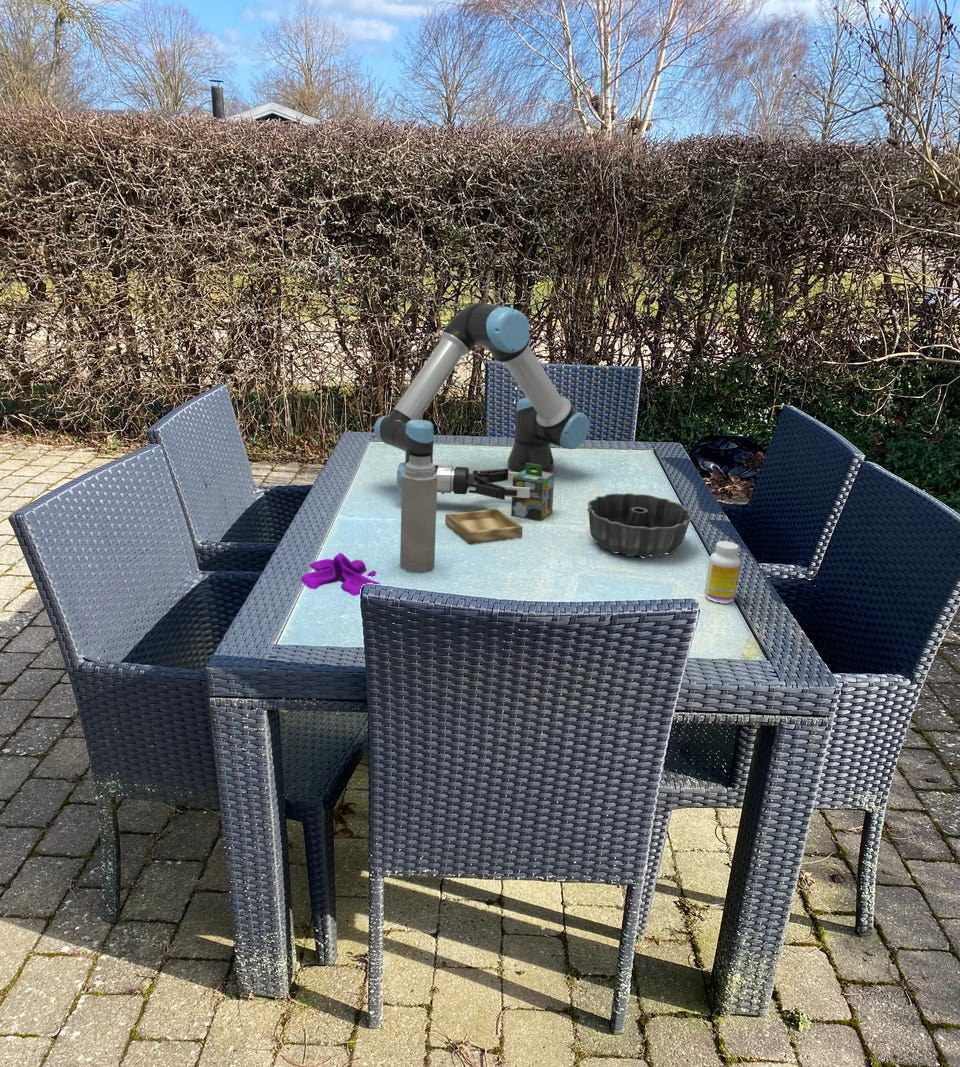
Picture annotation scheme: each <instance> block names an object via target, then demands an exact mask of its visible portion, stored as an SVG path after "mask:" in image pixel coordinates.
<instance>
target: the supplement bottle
mask: <svg viewBox="0 0 960 1067" xmlns="http://www.w3.org/2000/svg"><path fill="white" fill-rule="evenodd" d="M738 552H739V545H738V544H736V543H735V542H731V541H727V540H724V541H723V540H722V541H718V542H716V545H715V552H713V553H712V554H711V555H710V556H709V560H708V567H707V574H706V583H705V588H704V596H705V595H706V596H707V597H709V598H711V599H714V600H716V601H722V602H729V601H732V600H733V599H734V598H735V599H736V592H737V586H738V580H739V574H740V567H741V559H740V557H739V556H738V555H737V553H738ZM735 599H734V600H735Z"/></svg>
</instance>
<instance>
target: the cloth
mask: <svg viewBox="0 0 960 1067" xmlns="http://www.w3.org/2000/svg"><path fill="white" fill-rule="evenodd" d="M309 565H310V567H309V568H311V569H313V570H315V571H312V572H311V571H310V572H308V573H305V574H303V575H302V576H301V581H302V582H303V583H304V584H305V585H306V587H307V588H309V589H310V590H317V589H318V588H319V587H321V586H324V585H328V584H332V583H337V582H341V584H340V586H341V587H342V589H343V591H345V592H346V593H348V594H349V595H351V596H355V597H356V596H358V595H361V594H360V589H361V586H362V585H363V584H367V583H373V584H380V585H381V583H380V582H379V581H376V580H373V579H370V578H374V577H373V576H375V577H376V576H377V573H378V572H377V571H376V570H375V569H373V570H371V571H370V572H368V573H367V570H368V569H367V568H366V564H365V562H364V561H363V560H361V559H355V560H352V561H351V560H350V559H349V558H348V557H347V556H345V554H343V553H342V552H338V553H337V554H336V555H335V556H334V557H333V559H331V558H326V559H320V560H317V561H313V562H311V563H310V564H309ZM374 570H375V571H374ZM365 573H367V577H366V576H364V575H363V574H365ZM369 576H371V577H369ZM368 577H369V578H368Z"/></svg>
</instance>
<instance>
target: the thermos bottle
mask: <svg viewBox="0 0 960 1067" xmlns="http://www.w3.org/2000/svg"><path fill="white" fill-rule="evenodd" d="M409 454H410V456H409V462H408V463H406V464H405V472H403V473H402V489H401V497H400V498H401V501H400V502H401V503H400V504H401V507H400V508H401V509H400V549H399V550H400V552H399V553H400V554H399V555H400V557H399V566H400V568H401V569H402V568H403V569H405V570H407V571H406V572H408V571H411V572H410V573H414V572H422V573H426V572H425V571H428V572H430V571H432V570H434V568H435V562H436V561H435V557H436V531H437V530H436V529H437V526H436V525H437V495H438V492H437V474H436V473H434V470H435V466H434V465H435V464H434V462H433V463H431V456H430V455H431V451H430V450H428V449H423V448H415V449H411V450H410V451H409ZM403 569H402V570H403ZM405 570H404V571H405ZM429 570H430V571H429Z"/></svg>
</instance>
